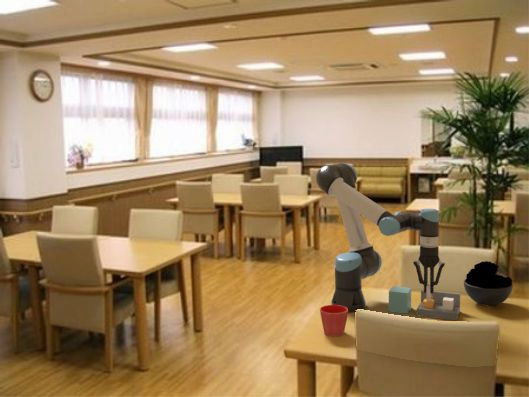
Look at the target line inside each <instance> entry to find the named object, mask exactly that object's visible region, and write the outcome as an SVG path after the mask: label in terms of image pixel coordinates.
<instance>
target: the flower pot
mask: <svg viewBox="0 0 529 397" xmlns="http://www.w3.org/2000/svg"><path fill="white" fill-rule="evenodd" d="M319 312H320V318H321V324H322V329H323V333H324V334H325V335H327V336H330V337H340V336H343V335H344V334H345V331H346V330H345V329H346V325H347V320H348V314H349V312H348V308H346V307H344V306H340V305H331V304H327V305H323V306H321V307H320V308H319Z"/></svg>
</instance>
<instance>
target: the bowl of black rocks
mask: <svg viewBox="0 0 529 397" xmlns="http://www.w3.org/2000/svg"><path fill="white" fill-rule="evenodd" d="M499 268H500V266H499V265H498V264H496V263H495V262H492V261H488V260H484V261H480V262H478V263H476V264H474V265H473V268H471V269H470V270H469V271H468V273H467V274H466V276H465V279H464V280H463V287H464V291H465V292H466V294H467V296H468V297H469V298H470V299H471V300H472V301H473V302H475V303H477V304H479V305H481V306H485V307H486V306H487V307H489V306H490V307H493V306H498V305H500V304H502V303H504V302H505V301H506V300H507V299H509V297H510V295H512V291H513V287H514V284H513V280H512V277H510V276H506V277H505V276H503V275H501V274H497V272H498V269H499Z"/></svg>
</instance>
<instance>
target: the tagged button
mask: <svg viewBox="0 0 529 397" xmlns="http://www.w3.org/2000/svg"><path fill="white" fill-rule="evenodd" d="M423 307H425V308H434V300H430V301H426V299H424V301H423Z"/></svg>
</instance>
